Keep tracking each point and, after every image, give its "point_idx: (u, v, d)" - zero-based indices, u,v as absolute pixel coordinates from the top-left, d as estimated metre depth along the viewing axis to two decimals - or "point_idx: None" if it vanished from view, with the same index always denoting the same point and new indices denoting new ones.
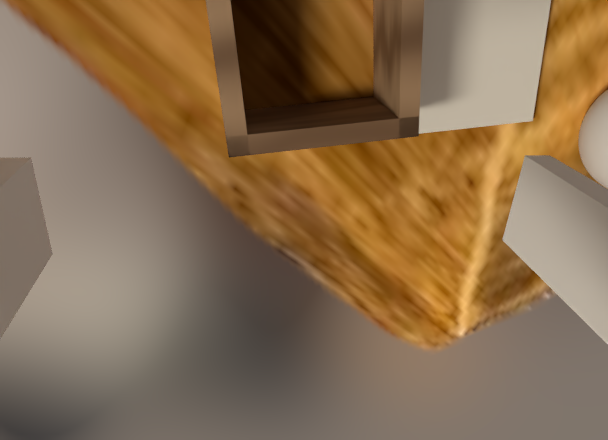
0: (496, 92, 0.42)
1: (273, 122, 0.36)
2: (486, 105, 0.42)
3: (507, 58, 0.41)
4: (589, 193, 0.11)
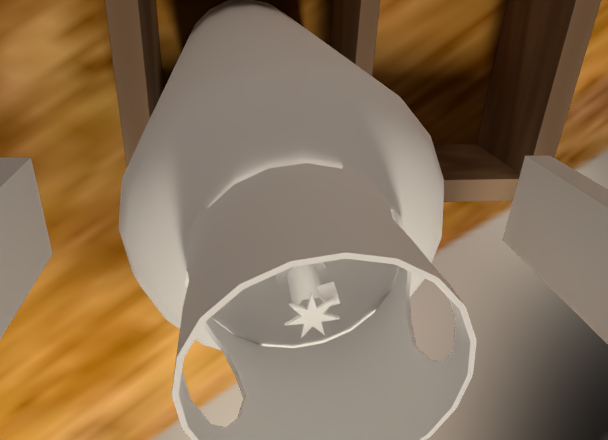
0: None
1: (514, 136, 0.32)
2: None
3: None
4: (589, 193, 0.11)
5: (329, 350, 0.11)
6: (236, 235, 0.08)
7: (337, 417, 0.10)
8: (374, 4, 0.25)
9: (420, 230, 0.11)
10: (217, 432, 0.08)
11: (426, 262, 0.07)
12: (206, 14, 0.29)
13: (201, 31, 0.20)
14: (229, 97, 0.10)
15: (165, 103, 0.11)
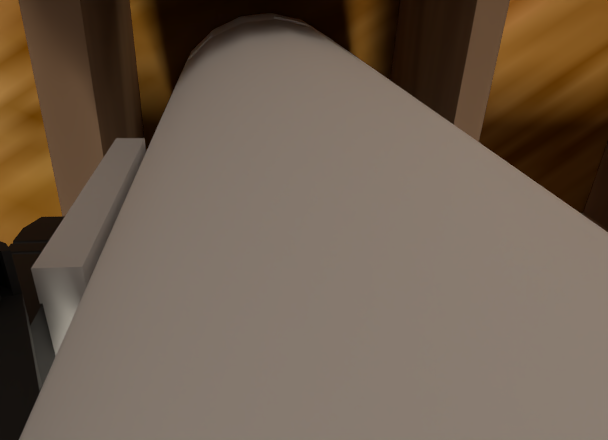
0: None
1: None
2: None
3: None
4: None
5: None
6: None
7: None
8: (494, 30, 0.15)
9: None
10: None
11: None
12: (208, 39, 0.19)
13: (193, 97, 0.10)
14: None
15: None
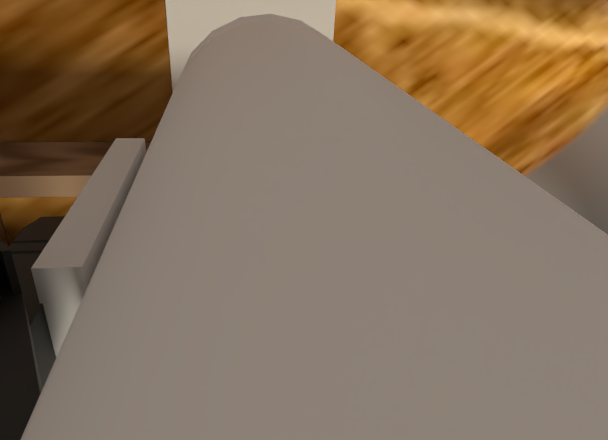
0: None
1: None
2: None
3: (256, 11, 0.35)
4: None
5: None
6: None
7: None
8: None
9: None
10: None
11: None
12: (207, 40, 0.18)
13: (193, 99, 0.10)
14: None
15: None
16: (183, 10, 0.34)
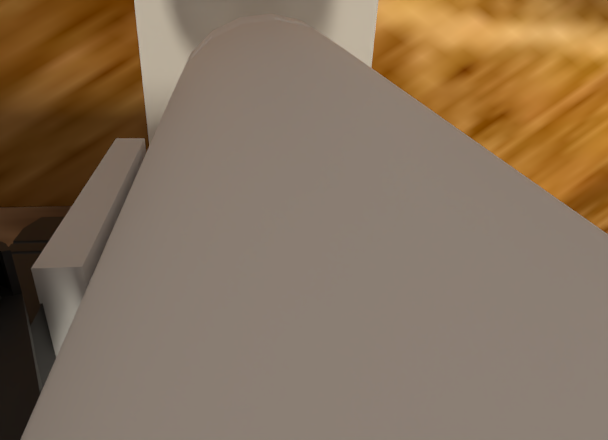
0: None
1: None
2: None
3: None
4: None
5: None
6: None
7: None
8: None
9: None
10: None
11: None
12: (208, 40, 0.18)
13: (193, 99, 0.10)
14: None
15: None
16: (161, 30, 0.24)
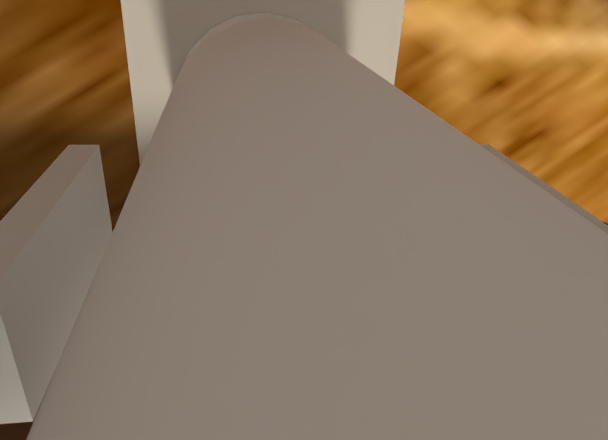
0: None
1: None
2: None
3: None
4: None
5: None
6: None
7: None
8: None
9: None
10: None
11: None
12: (206, 37, 0.19)
13: (195, 90, 0.11)
14: None
15: None
16: (153, 39, 0.21)
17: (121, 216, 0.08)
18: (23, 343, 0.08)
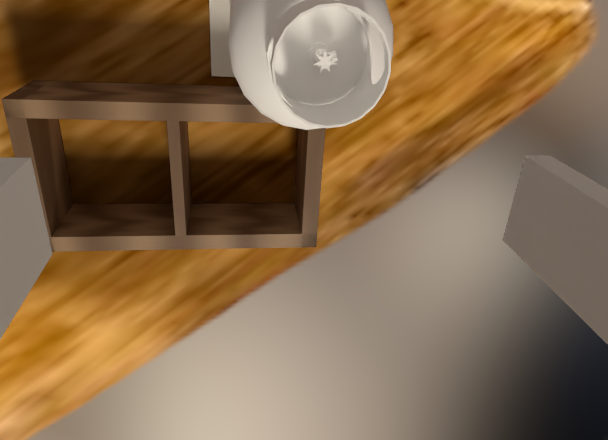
0: None
1: (299, 204, 0.48)
2: None
3: None
4: (589, 193, 0.11)
5: (332, 104, 0.23)
6: (295, 11, 0.19)
7: (335, 116, 0.21)
8: (176, 134, 0.41)
9: (378, 43, 0.22)
10: (284, 100, 0.20)
11: None
12: None
13: None
14: None
15: None
16: None
17: None
18: None
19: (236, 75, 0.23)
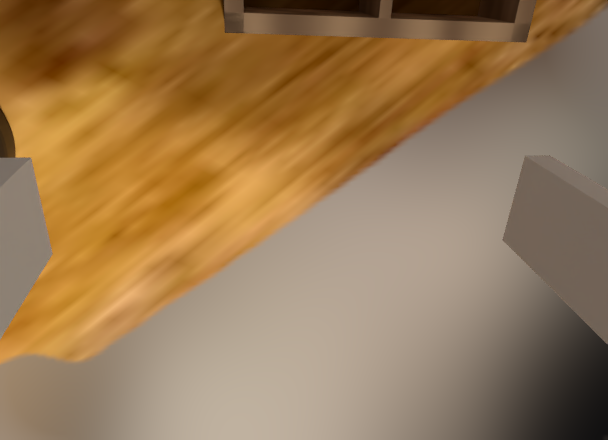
0: None
1: None
2: None
3: None
4: (589, 193, 0.11)
5: None
6: None
7: None
8: None
9: None
10: None
11: None
12: None
13: None
14: None
15: None
16: None
17: None
18: None
19: None
